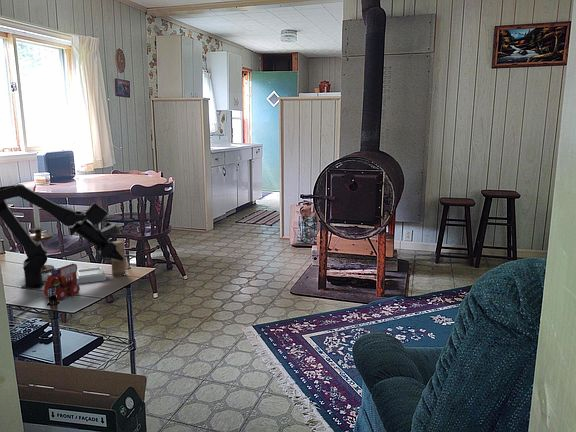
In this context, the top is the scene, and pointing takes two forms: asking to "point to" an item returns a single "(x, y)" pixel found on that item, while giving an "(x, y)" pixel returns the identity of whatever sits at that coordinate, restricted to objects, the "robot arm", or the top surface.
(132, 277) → the top surface
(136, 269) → the top surface
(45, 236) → the candlestick
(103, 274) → the base plate
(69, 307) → the top surface
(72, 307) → the top surface
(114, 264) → the walnut pillar
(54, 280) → the toy fire truck
